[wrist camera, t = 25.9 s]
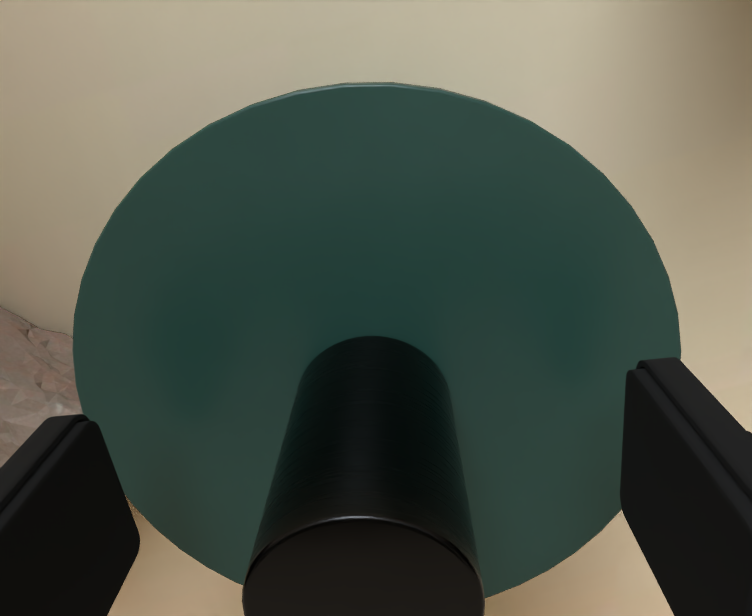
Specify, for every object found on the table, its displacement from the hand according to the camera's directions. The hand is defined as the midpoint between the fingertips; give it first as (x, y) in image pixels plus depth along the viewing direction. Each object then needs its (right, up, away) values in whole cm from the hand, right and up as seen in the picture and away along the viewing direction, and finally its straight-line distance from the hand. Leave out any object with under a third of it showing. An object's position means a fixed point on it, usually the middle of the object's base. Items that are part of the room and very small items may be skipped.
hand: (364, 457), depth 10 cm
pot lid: (0, +1, +2) cm, 3 cm away
